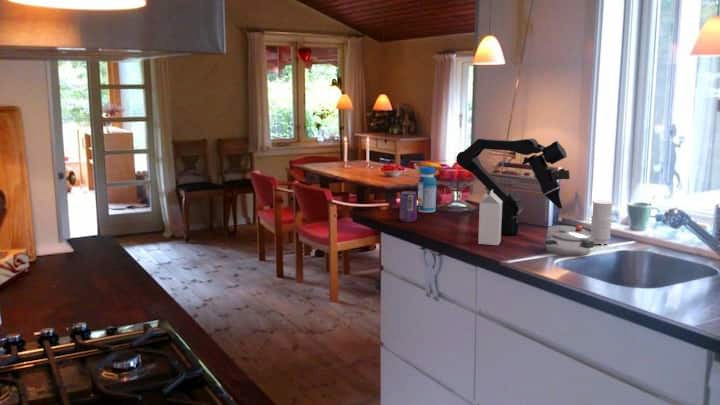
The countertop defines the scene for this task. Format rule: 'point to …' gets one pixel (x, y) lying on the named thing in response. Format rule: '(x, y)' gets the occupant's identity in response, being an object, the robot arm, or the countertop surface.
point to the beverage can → (408, 206)
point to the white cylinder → (601, 221)
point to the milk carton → (490, 219)
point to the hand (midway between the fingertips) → (561, 208)
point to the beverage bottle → (427, 190)
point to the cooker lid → (569, 232)
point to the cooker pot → (568, 246)
